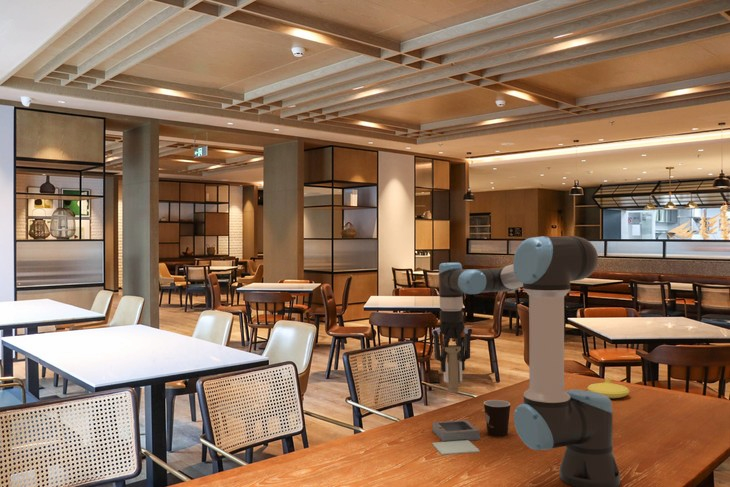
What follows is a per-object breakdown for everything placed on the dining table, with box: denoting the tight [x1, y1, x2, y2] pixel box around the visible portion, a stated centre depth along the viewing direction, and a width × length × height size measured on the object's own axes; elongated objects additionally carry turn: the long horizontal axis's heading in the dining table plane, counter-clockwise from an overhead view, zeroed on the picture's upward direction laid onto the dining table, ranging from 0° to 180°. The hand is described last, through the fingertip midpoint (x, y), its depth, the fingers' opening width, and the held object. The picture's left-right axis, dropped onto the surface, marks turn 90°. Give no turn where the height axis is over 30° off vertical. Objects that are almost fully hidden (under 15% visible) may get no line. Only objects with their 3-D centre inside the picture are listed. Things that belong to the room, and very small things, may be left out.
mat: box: [431, 440, 481, 456], centre depth 190 cm, size 10×12×1 cm
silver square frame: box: [432, 419, 481, 442], centre depth 202 cm, size 12×12×3 cm
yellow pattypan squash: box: [587, 377, 630, 399], centre depth 249 cm, size 16×16×7 cm
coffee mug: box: [483, 399, 511, 438], centre depth 205 cm, size 12×9×10 cm
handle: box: [443, 344, 461, 394], centre depth 202 cm, size 5×6×15 cm
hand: (453, 381), depth 202 cm, fingers closed on handle, 4 cm apart
